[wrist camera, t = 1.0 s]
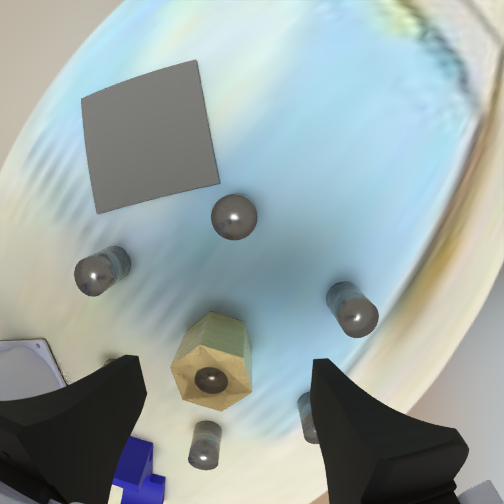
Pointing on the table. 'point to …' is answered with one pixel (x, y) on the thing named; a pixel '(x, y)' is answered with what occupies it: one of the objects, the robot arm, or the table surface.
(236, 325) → the brass nut
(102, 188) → the mat
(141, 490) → the cable clip
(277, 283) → the table surface
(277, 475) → the table surface
